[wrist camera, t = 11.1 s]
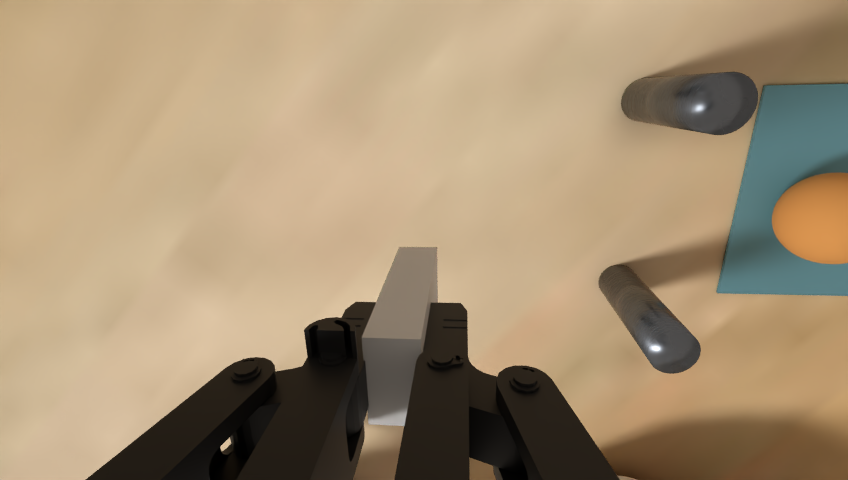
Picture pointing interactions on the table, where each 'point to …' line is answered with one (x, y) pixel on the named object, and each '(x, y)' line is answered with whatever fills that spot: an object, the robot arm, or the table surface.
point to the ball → (815, 218)
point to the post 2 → (649, 321)
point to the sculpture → (625, 478)
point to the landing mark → (775, 173)
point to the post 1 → (693, 101)
